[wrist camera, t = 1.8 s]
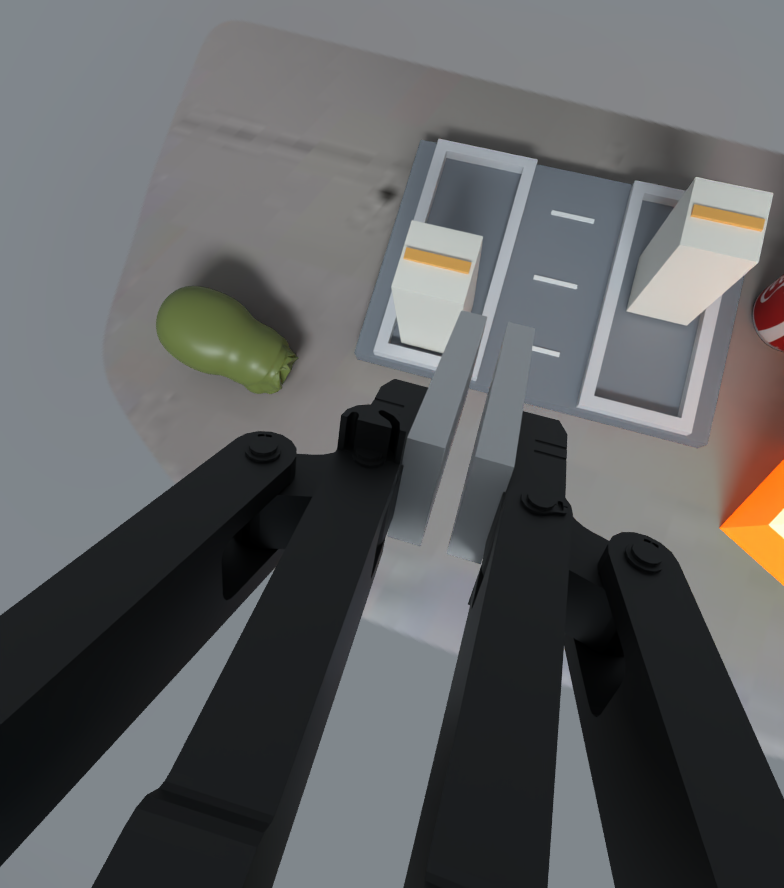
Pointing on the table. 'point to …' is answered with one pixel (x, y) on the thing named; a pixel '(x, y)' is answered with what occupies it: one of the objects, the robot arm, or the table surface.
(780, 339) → the soda can
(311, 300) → the table surface
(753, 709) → the table surface
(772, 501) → the orange juice
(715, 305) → the tray
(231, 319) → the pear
